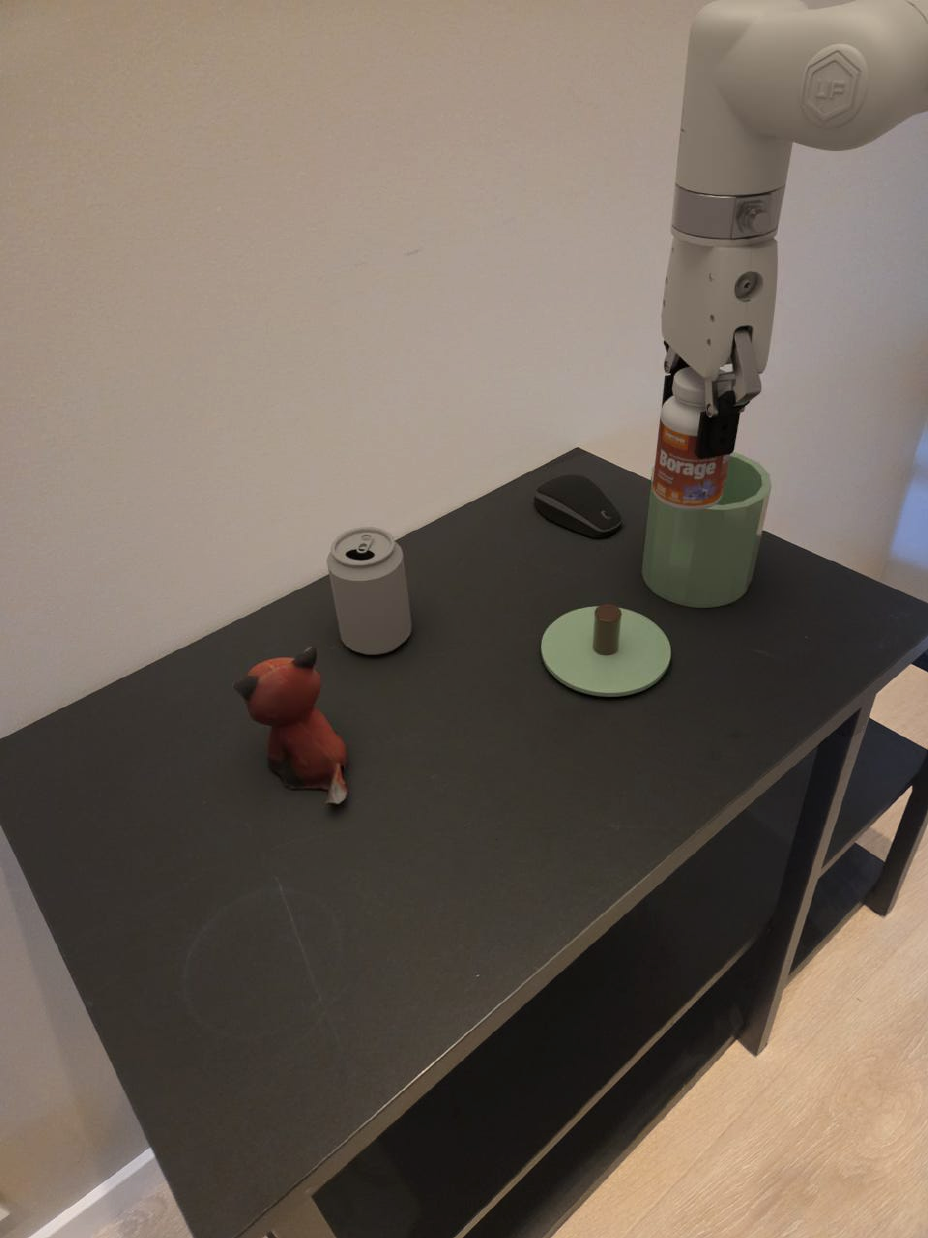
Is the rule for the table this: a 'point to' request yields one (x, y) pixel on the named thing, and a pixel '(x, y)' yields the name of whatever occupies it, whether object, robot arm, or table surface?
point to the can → (369, 590)
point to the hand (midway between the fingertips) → (696, 433)
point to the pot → (708, 541)
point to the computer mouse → (578, 506)
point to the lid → (605, 651)
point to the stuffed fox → (295, 724)
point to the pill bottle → (687, 448)
